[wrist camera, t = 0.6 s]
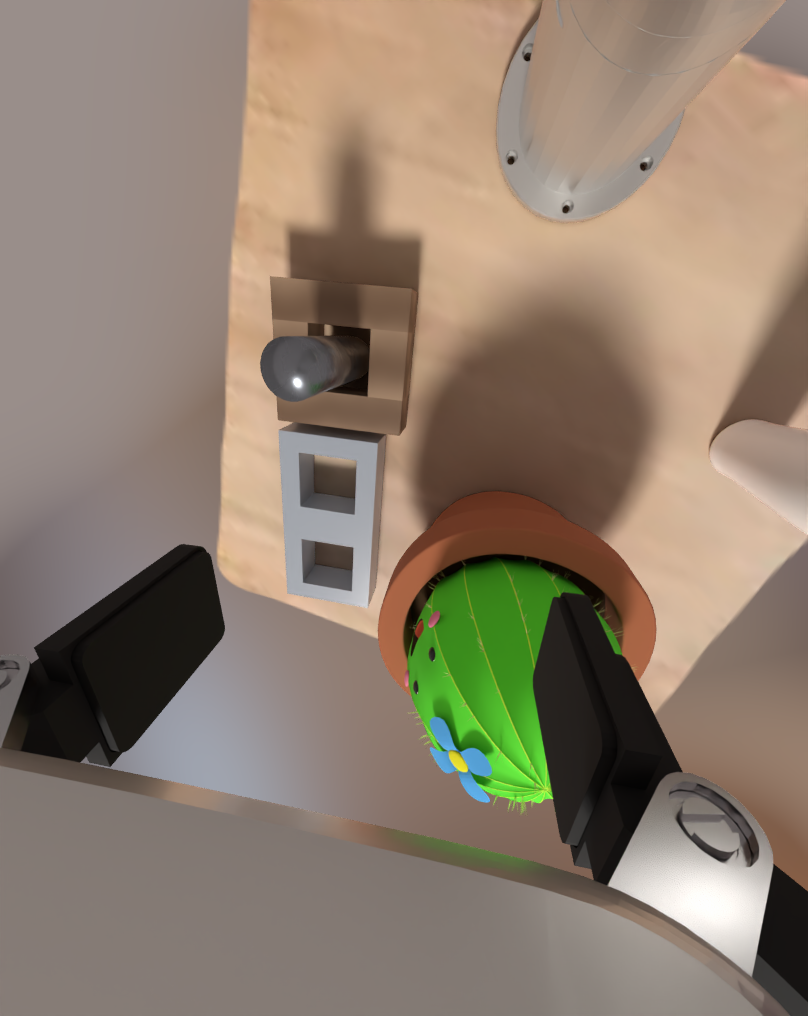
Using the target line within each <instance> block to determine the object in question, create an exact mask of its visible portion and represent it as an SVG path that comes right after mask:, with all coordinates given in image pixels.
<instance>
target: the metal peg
mask: <svg viewBox="0 0 808 1016" xmlns="http://www.w3.org/2000/svg"><path fill="white" fill-rule="evenodd" d="M369 357H370V350H369V348H368V346H367V345H366V343H365V342H364V341H363V340H361V339H360V338H358V337H355V336H282V337H278V338H275V339H273V340H272V341H270V342H269V343H268V344H267V346H266V347H265V349H264V350H263V353H262V356H261V362H260V366H261V373H262V376H263V379H264V381H265V383H266V385H267V387H268V388H269V389H270V390H271V391H272V392H273V393H274V394H275V395H276V396H278V397H279V398H281V399H283V400H286V401H290V402H298V401H302V400H305V399H307V398H310V397H312V396H315V395H318V394H320V393H323V392H325V391H328V390H330V389H333V388H336V387H338V386H341V385H343V384H346V383H349V382H351V381H354V380H356V379H359V378H361V377H363V376H364V375H365V374H366V373H367V372H368V370H369Z"/></svg>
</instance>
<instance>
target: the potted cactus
mask: <svg viewBox="0 0 808 1016" xmlns="http://www.w3.org/2000/svg"><path fill="white" fill-rule="evenodd" d="M563 592H567V593H575V594H583V595H587V596H588V597H589V598H590V600H591V602H592V605H593V607H594V609H595V611H596V613H597V615H598V617H599V620H600V622H601V624H602V626H603V628H604V630H605V632H606V635H607V637H608V639H609V641H610V643H611V645H612V648H613V650H614V652H615V654H620V655H622V656H624V657H625V658H626V659H627V661H628V663H629V664H630V666H631V668H632V670H633V672H634V674H635V676H636V679H637V681H638V680H639V679H640V677H641V676H642V674H643V673H644V671H645V669H646V667H647V665H648V663H649V661H650V658H651V656H652V653H653V649H654V645H655V641H656V618H655V614H654V610H653V607H652V604H651V602H650V600H649V598H648V595H647V594H646V592H645V591H644V589H643V588H642V586H641V584H640V583H639V581H638V580H637V579H636V577H635V576H634V574H633V573H632V571H631V570H630V568H629V567H628V565H627V564H626V562H625V561H624V560H623V559H622V558H621V557H620V555H619V554H618V553H617V552H616V551H615V550H614V549H612V548H611V547H610V546H609V545H608V544H607V543H605V542H604V541H603V540H601V539H600V538H599V537H597V536H596V535H594V534H592V533H591V532H589V531H587V530H586V529H584V528H582V527H580V526H578V525H576V524H574V523H571V522H569V521H567V520H566V519H565V518H564V517H563V516H562V515H561V514H559V513H558V512H557V511H556V510H554V509H553V508H551V507H549V506H548V505H546V504H544V503H542V502H540V501H538V500H536V499H533V498H531V497H528V496H524V495H521V494H516V493H510V492H500V491H491V492H481V493H476V494H472V495H469V496H466V497H464V498H462V499H460V500H458V501H456V502H455V503H453V504H452V505H450V506H449V507H448V508H447V509H445V510H444V511H443V512H442V513H441V514H440V516H439V517H438V518H437V519H436V520H435V522H434V523H433V525H432V526H431V528H429V529H428V530H427V531H425V532H424V533H423V534H422V535H420V536H419V537H418V538H417V539H416V540H415V541H414V542H413V543H412V544H411V546H410V547H409V548H408V549H407V550H406V552H405V553H404V555H403V556H402V557H401V559H400V560H399V562H398V564H397V566H396V568H395V570H394V572H393V574H392V577H391V579H390V582H389V585H388V588H387V591H386V594H385V597H384V600H383V604H382V607H381V611H380V616H379V624H378V640H379V647H380V651H381V654H382V658H383V660H384V663H385V665H386V667H387V669H388V671H389V672H390V674H391V675H392V677H393V678H394V680H395V681H396V682H397V683H398V684H399V685H400V687H401V688H402V689H403V690H404V691H406V692H407V693H408V694H409V695H410V696H411V697H412V699H413V702H414V705H415V707H416V709H417V711H416V712H418V714H419V717H420V718H421V719H422V721H423V722H422V723H423V724H424V727H425V729H426V732H427V735H428V737H429V738H430V740H431V741H429V742H432V743H433V745H434V746H435V748H436V749H437V750H436V749H434V748H430V750H431V754H432V755H433V757H434V759H435V761H436V762H437V764H438V765H439V766H440V768H441V769H442V770H443V771H444V772H446V773H451V772H454V771H455V770H456V771H458V772H459V777H460V780H461V783H462V785H463V787H464V788H465V790H466V791H467V792H468V794H469V795H471V796H472V797H473V798H474V799H476V800H478V801H481V802H489V801H490V799H489V797H488V796H487V795H486V793H484V791H486V792H488V793H490V794H493V795H496V798H497V796H500V797H506V798H508V799H510V803H511V800H512V801H514V803H513V806H515V801H516V802H521V803H522V806H521V807H522V808H521V809H523V807H524V805H525V802H527V801H530V800H532V802H533V801H534V802H536V803H541V802H542V801H543V800H544V799H548V798H549V799H553V796H552V790H551V785H550V779H549V774H548V768H547V763H546V757H545V752H544V746H543V741H542V735H541V730H540V724H539V719H538V713H537V708H536V702H535V697H534V691H533V673H534V669H535V665H536V661H537V658H538V654H539V650H540V646H541V642H542V638H543V634H544V630H545V626H546V622H547V618H548V614H549V610H550V606H551V602H552V599H553V597H560V595H561V594H562V593H563ZM416 712H411V713H416ZM419 717H418V718H419ZM419 724H421V723H419ZM427 735H425V736H427ZM425 736H424V737H425ZM422 737H423V736H422ZM429 742H427V743H429ZM427 743H426V744H427ZM483 790H484V791H483ZM496 798H495V801H496ZM495 801H494V802H495ZM523 802H524V803H523ZM510 803H509V804H510ZM493 804H494V803H493ZM516 804H517V803H516ZM509 807H510V805H509Z"/></svg>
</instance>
